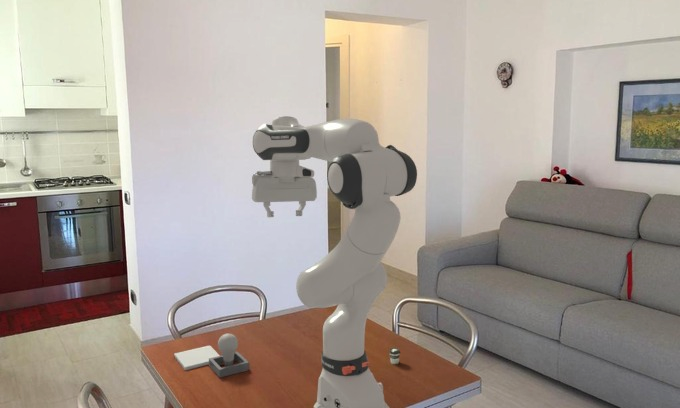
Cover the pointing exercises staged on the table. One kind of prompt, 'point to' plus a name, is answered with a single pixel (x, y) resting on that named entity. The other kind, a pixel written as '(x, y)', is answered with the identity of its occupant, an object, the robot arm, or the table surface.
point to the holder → (229, 370)
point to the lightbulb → (228, 348)
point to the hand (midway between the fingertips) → (284, 216)
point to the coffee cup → (394, 355)
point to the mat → (195, 357)
